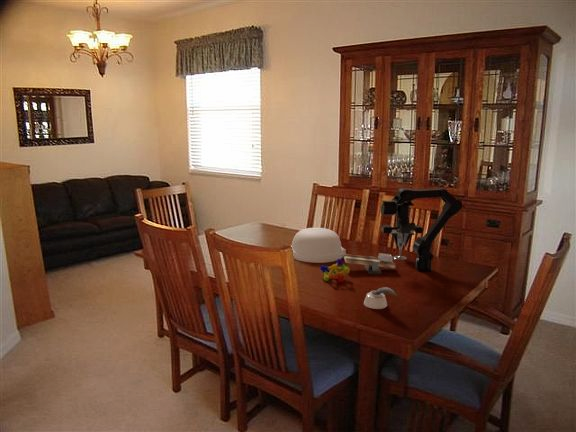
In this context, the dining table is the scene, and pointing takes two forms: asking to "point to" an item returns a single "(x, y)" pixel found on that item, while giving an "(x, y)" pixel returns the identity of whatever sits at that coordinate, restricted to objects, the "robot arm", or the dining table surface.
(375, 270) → the pivot stand
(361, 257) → the beam
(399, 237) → the wine glass
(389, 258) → the steel block
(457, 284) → the dining table surface
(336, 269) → the decorative model
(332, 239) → the dome cover
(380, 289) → the inkwell
